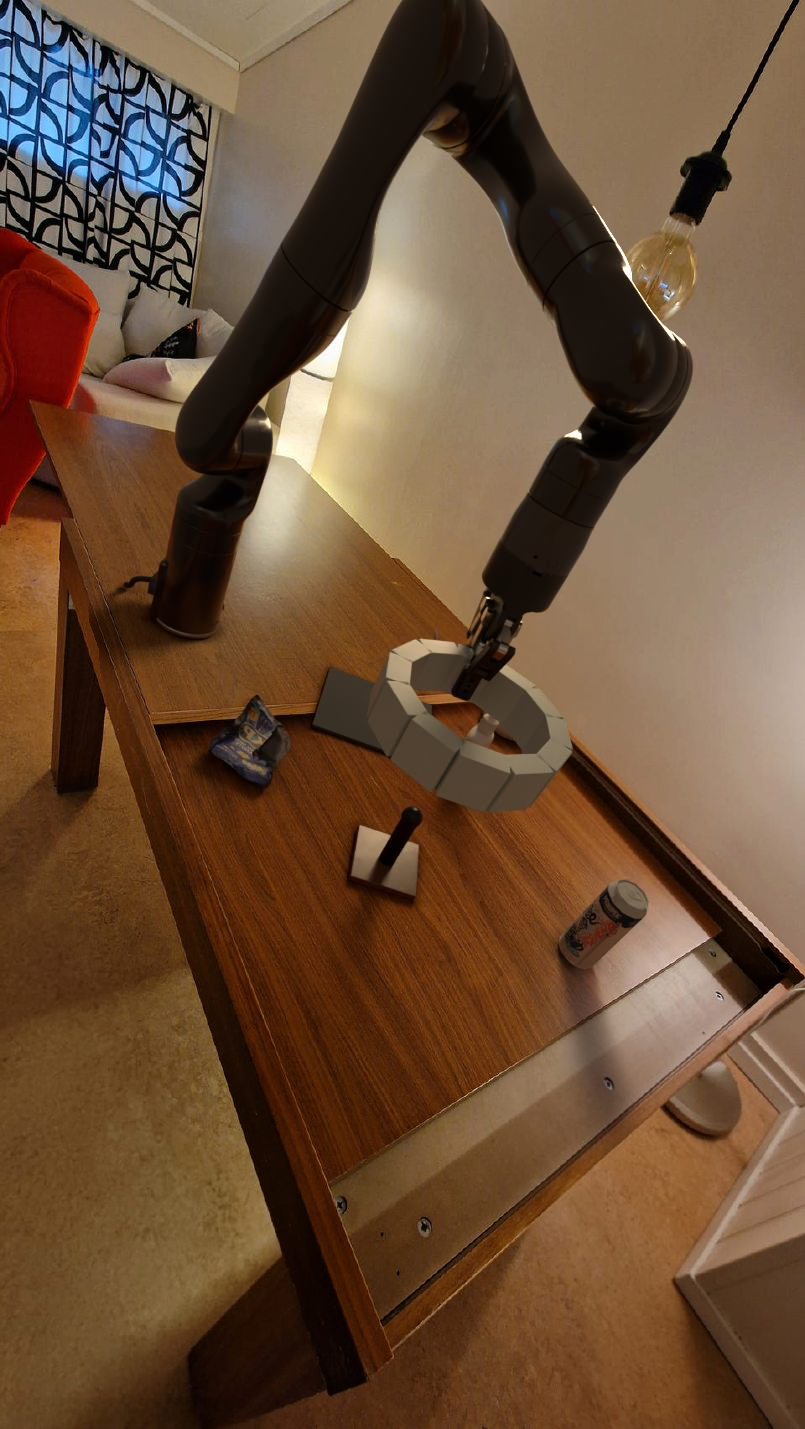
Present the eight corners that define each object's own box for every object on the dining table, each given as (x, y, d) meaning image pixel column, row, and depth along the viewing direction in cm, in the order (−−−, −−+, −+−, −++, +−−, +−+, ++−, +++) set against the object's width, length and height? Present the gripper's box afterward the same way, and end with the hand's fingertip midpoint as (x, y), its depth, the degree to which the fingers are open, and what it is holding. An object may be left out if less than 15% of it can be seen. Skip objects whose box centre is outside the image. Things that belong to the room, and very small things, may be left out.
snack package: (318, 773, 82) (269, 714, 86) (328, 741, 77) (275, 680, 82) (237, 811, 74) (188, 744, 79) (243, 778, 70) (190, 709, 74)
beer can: (552, 931, 76) (607, 872, 69) (585, 937, 77) (642, 879, 71) (563, 968, 72) (622, 909, 66) (597, 973, 74) (659, 916, 67)
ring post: (348, 879, 70) (378, 824, 65) (356, 828, 76) (385, 774, 71) (413, 900, 71) (449, 848, 66) (416, 848, 78) (449, 797, 73)
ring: (356, 767, 53) (377, 724, 50) (378, 654, 69) (395, 617, 66) (557, 838, 56) (587, 802, 54) (533, 715, 72) (556, 682, 69)
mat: (311, 726, 88) (312, 724, 88) (329, 668, 101) (330, 666, 101) (428, 768, 91) (429, 766, 91) (430, 707, 104) (432, 705, 104)
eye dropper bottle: (480, 781, 94) (518, 722, 87) (450, 782, 91) (488, 722, 84) (466, 760, 96) (503, 702, 90) (437, 761, 93) (473, 701, 87)
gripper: (497, 513, 65) (430, 647, 74) (507, 564, 54) (426, 713, 63) (560, 542, 66) (486, 669, 76) (583, 597, 55) (492, 738, 64)
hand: (459, 689), depth 69 cm, fingers closed on ring, 2 cm apart
